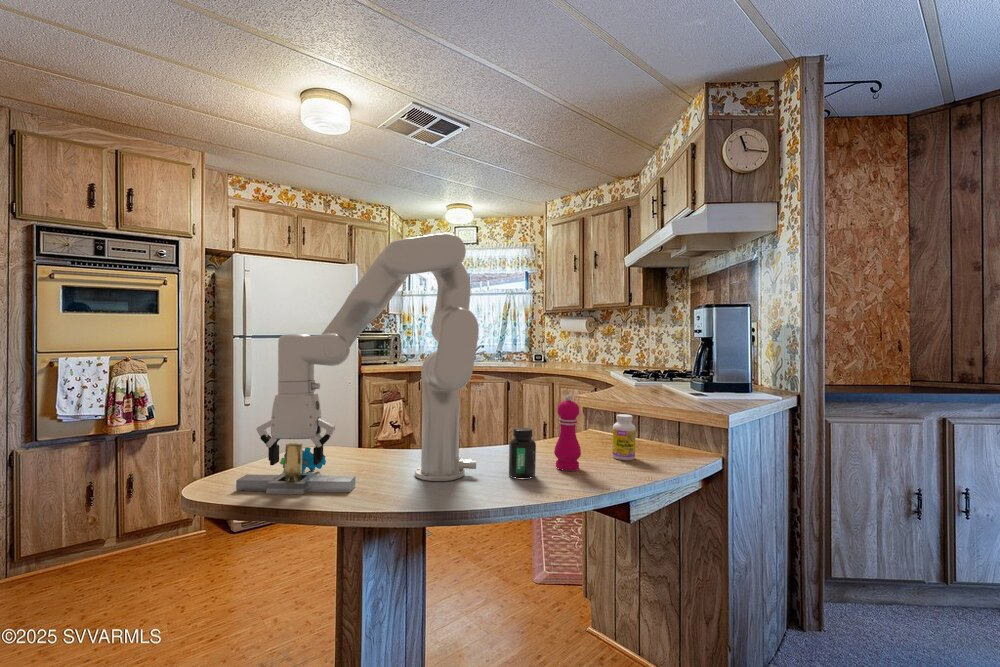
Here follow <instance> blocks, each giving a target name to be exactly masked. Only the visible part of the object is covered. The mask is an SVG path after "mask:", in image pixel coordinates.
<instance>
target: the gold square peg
mask: <svg viewBox="0 0 1000 667" xmlns="http://www.w3.org/2000/svg"><path fill="white" fill-rule="evenodd" d="M302 450H303V443H302V442H290V443H286V444H285V453H284V455H285V481H301V480H302Z"/></svg>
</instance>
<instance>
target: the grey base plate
mask: <svg viewBox="0 0 1000 667" xmlns="http://www.w3.org/2000/svg"><path fill="white" fill-rule="evenodd" d="M356 478H357V477H356V475H320V474H319V475H318V472H317V473H316V472H304V473H302V480H301V481H285V473H283V472H282V473H280V474H245V475H243V476H242V477H238V478H237V479H236V482H235V483H236V484H235V486H236V487H235V491H236V490H237V491H236V492H242V491H241V490H245V491H244V492H266V493H265V494H266V495H293V494H304V493H305V494H306V493H347V492H350V491H351V490H352V491H353V489H354V488H355V487H356ZM307 491H308V492H307ZM311 491H312V492H311ZM352 491H351V492H352ZM351 492H350V493H351ZM305 494H304V495H305Z"/></svg>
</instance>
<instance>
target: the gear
mask: <svg viewBox="0 0 1000 667" xmlns="http://www.w3.org/2000/svg"><path fill="white" fill-rule="evenodd" d="M311 450H312V448H311V447H308V446H307V447H305V448H304V449H302V473H305V471H306V469H307V468H308V469H309V471H310V472H311V471H315V470H316V468H317V469H319V470H321V469H322V468H323V466H326V463H327V460H326V455H325V454H323V460H321V462H320V463H319V464H318V465H314V464H313V453H312V452H311ZM279 464H280V465H282V468H283V471H282V473H285V454H283V457H281V459H280V460H279Z"/></svg>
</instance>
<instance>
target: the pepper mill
mask: <svg viewBox="0 0 1000 667" xmlns="http://www.w3.org/2000/svg"><path fill="white" fill-rule="evenodd" d="M557 414H558V416H559V418H558V423H559V425H560V426H559V427H560V430H559V431H560V433H559V436H558V439H557V441H556V443H555V446H554V452H553V453H554V456H555V457H556V458H557V460H555V468H556V467H557V468H559V469H563V470H576V471H578V470H579V468H580V462H579V460H578V459H580V457H581V456H582V450H581V446H580V444H579V441H578V439H577V438H578V437H577V434H576V426H577V425H578V418H577V417H578V416H579V414H580V406H579V404H577V402H575V401H573V397H572V396H571V394H567V395H566V396H565V400H563V401H561V402H560V403H559V404H558V406H557ZM557 468H556V469H557ZM559 469H558V470H559ZM577 469H578V470H577ZM563 470H562V471H563Z"/></svg>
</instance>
